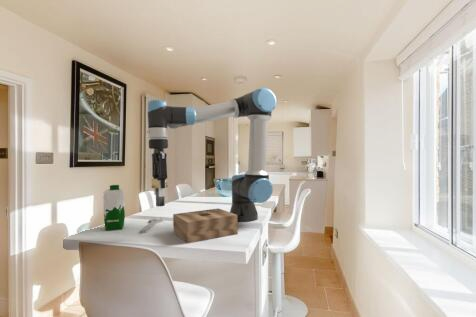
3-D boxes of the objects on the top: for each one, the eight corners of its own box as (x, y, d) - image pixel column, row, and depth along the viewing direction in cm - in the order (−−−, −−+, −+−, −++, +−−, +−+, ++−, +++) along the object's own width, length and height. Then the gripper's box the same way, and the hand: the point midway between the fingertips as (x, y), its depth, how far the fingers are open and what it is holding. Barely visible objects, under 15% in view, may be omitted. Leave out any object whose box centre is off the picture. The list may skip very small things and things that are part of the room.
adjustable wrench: (145, 234, 121) (145, 230, 121) (131, 234, 121) (131, 230, 121) (164, 220, 146) (164, 217, 146) (152, 220, 146) (152, 217, 146)
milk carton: (126, 225, 136) (125, 184, 136) (123, 229, 127) (122, 186, 127) (106, 226, 134) (105, 185, 133) (102, 231, 125) (101, 187, 125)
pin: (165, 203, 118) (165, 177, 118) (170, 205, 112) (169, 178, 112) (150, 205, 115) (149, 178, 114) (154, 207, 109) (153, 179, 109)
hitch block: (218, 225, 132) (218, 208, 132) (237, 233, 117) (237, 215, 117) (173, 232, 121) (173, 214, 121) (188, 243, 106) (187, 222, 106)
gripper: (143, 140, 119) (145, 193, 120) (154, 137, 103) (156, 199, 103) (161, 140, 123) (162, 192, 124) (174, 137, 107) (176, 197, 107)
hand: (160, 195), depth 113 cm, fingers closed on pin, 6 cm apart
